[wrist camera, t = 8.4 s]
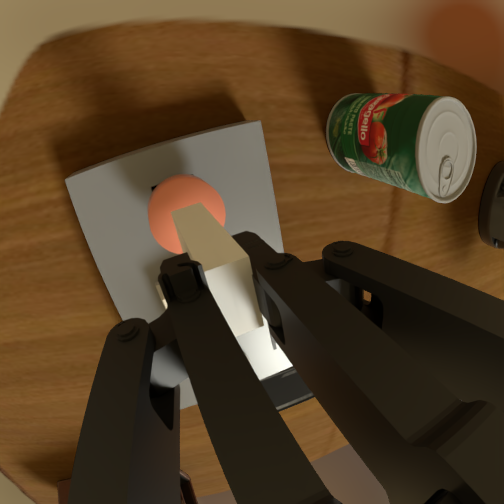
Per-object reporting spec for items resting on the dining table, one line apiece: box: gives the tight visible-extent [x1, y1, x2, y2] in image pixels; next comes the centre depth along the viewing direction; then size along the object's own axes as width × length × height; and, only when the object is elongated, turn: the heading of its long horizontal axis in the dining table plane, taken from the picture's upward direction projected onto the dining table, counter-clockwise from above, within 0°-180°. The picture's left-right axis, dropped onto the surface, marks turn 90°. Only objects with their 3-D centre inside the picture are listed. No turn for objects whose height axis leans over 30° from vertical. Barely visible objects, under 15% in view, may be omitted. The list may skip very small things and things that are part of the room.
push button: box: [147, 174, 226, 254], centre depth 20 cm, size 4×4×5 cm
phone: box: [260, 366, 315, 412], centre depth 38 cm, size 8×1×15 cm
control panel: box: [65, 120, 293, 409], centre depth 26 cm, size 14×24×4 cm, turn 11°
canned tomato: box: [326, 93, 476, 203], centre depth 23 cm, size 8×8×11 cm
